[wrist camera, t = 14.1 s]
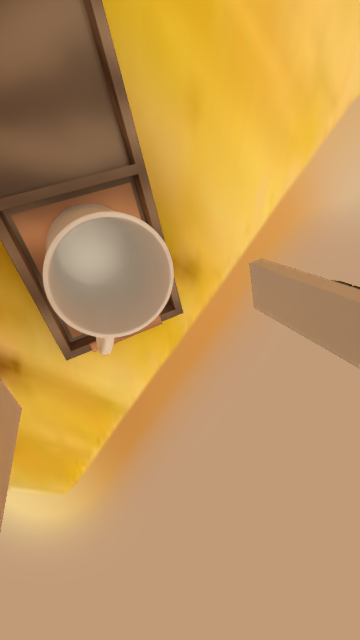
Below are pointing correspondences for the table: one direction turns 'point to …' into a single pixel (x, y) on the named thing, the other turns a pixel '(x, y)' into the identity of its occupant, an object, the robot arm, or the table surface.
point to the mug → (106, 272)
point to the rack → (64, 140)
